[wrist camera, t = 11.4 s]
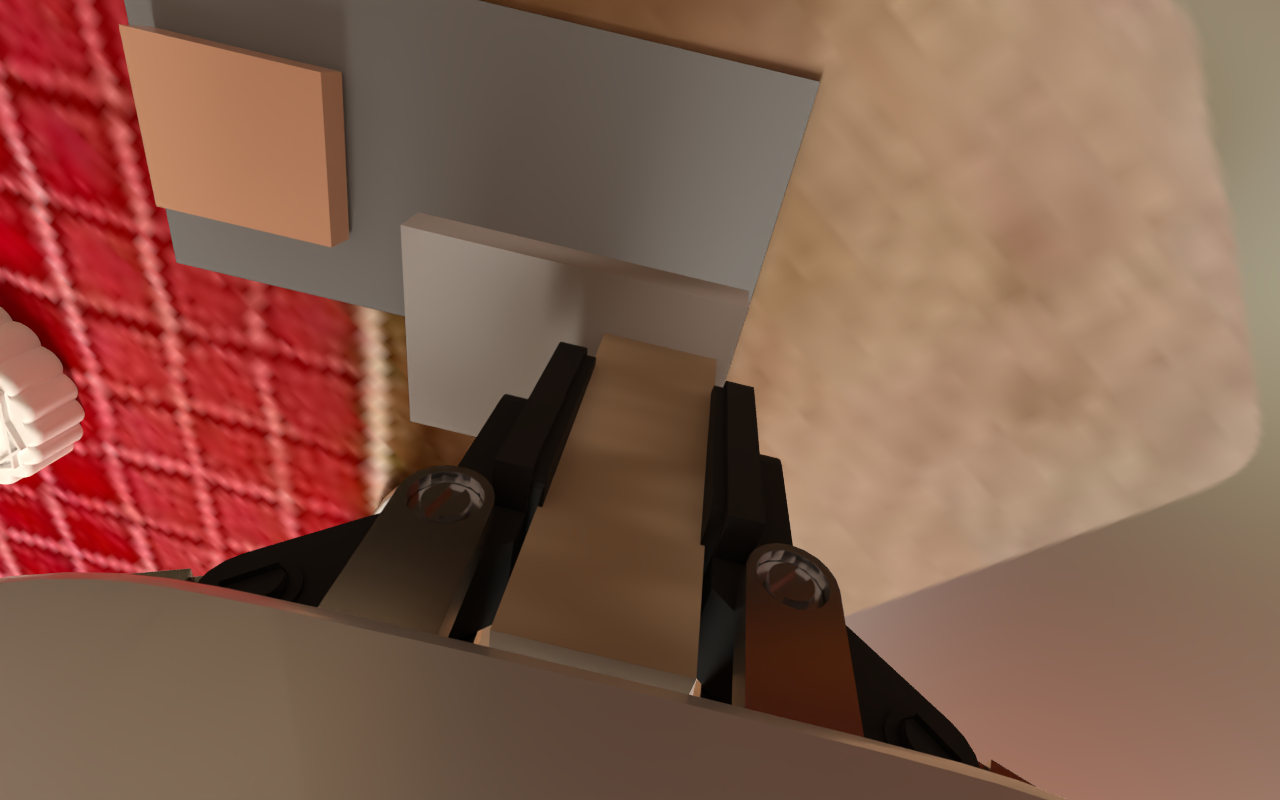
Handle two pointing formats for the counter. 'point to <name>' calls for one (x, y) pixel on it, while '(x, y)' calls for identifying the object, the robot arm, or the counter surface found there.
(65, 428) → the mooncake
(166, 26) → the mat
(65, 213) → the counter surface
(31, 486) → the counter surface
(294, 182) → the tile
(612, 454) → the wooden stand
